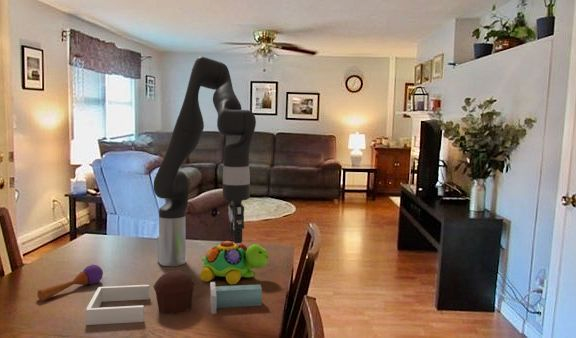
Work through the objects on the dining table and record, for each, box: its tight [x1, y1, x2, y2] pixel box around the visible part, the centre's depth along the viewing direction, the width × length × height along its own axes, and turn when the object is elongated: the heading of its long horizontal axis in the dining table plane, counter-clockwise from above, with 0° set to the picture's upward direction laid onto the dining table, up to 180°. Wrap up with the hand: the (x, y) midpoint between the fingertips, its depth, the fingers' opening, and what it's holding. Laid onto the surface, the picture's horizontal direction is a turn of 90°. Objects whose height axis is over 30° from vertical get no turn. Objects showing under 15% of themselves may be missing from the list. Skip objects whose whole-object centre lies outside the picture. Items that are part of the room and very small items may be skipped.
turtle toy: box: [199, 240, 270, 286], centre depth 157 cm, size 17×23×12 cm
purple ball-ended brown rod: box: [36, 264, 104, 302], centre depth 142 cm, size 6×6×20 cm
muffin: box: [152, 270, 196, 315], centre depth 131 cm, size 12×11×10 cm
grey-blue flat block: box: [209, 281, 263, 315], centre depth 134 cm, size 14×11×5 cm
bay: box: [85, 284, 150, 326], centre depth 128 cm, size 14×16×4 cm
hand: (236, 238), depth 133 cm, fingers open, 8 cm apart
